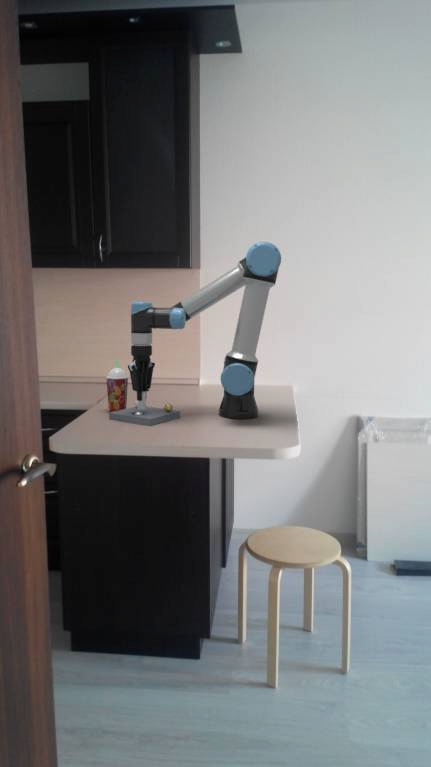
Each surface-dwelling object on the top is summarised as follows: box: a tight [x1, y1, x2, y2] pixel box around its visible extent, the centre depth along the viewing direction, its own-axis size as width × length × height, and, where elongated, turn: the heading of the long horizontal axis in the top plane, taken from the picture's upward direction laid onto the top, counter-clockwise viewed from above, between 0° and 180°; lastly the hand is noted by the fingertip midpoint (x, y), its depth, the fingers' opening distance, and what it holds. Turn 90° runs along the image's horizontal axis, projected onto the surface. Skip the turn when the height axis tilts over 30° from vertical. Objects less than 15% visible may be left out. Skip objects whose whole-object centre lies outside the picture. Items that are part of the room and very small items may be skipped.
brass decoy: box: [163, 403, 174, 412], centre depth 218 cm, size 3×3×3 cm
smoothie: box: [105, 360, 129, 413], centre depth 229 cm, size 8×8×20 cm
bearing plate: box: [108, 405, 181, 427], centre depth 218 cm, size 19×18×2 cm
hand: (141, 408), depth 216 cm, fingers closed
